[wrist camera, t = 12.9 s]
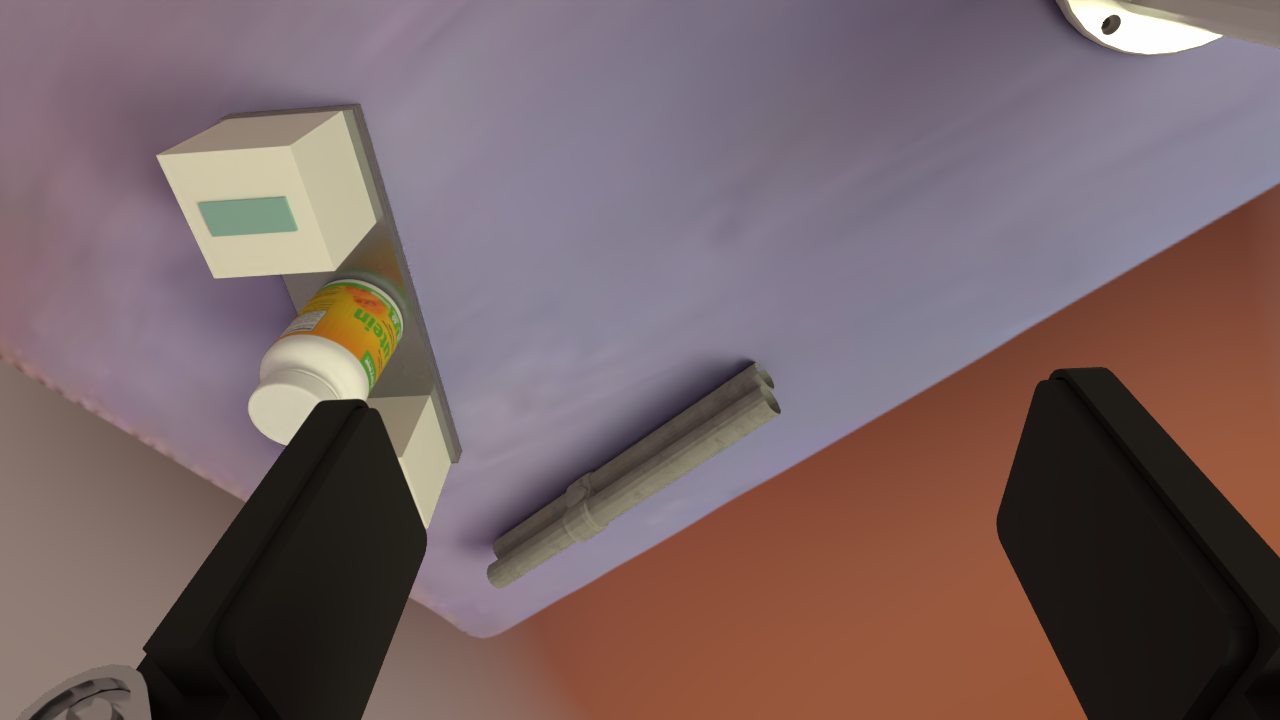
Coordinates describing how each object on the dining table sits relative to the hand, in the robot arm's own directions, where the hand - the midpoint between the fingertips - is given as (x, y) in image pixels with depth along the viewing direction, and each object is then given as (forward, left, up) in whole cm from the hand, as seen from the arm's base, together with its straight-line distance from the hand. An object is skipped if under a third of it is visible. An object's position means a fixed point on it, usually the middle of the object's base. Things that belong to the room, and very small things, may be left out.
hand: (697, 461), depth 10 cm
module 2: (+19, +22, -28) cm, 40 cm away
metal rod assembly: (+5, +27, -29) cm, 40 cm away
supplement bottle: (+19, +13, -28) cm, 36 cm away
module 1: (+19, +4, -28) cm, 34 cm away
